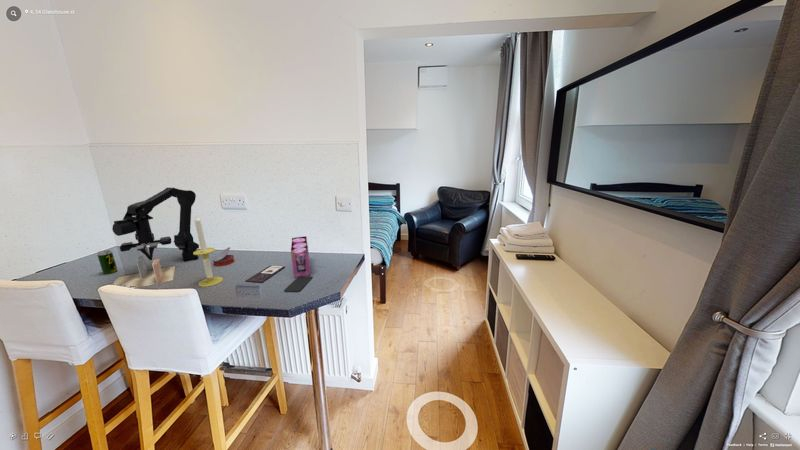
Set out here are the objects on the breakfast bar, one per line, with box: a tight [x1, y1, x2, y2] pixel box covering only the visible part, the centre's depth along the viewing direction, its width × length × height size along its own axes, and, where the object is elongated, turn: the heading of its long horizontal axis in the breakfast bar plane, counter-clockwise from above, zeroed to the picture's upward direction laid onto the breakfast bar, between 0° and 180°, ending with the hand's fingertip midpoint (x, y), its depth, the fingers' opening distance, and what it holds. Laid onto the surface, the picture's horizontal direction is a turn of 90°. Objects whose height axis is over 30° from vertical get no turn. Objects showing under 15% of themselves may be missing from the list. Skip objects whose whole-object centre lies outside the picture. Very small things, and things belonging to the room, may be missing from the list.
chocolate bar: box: [244, 265, 286, 284], centre depth 141 cm, size 9×1×18 cm
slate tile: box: [136, 255, 149, 278], centre depth 142 cm, size 2×8×9 cm, turn 34°
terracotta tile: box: [151, 258, 163, 284], centre depth 137 cm, size 2×8×9 cm, turn 34°
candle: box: [193, 214, 224, 288], centre depth 130 cm, size 10×10×32 cm
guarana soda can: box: [96, 249, 119, 276], centre depth 145 cm, size 5×5×12 cm
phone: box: [283, 275, 313, 293], centre depth 130 cm, size 7×1×15 cm
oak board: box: [112, 266, 176, 289], centre depth 139 cm, size 23×21×1 cm
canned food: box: [212, 246, 235, 267], centre depth 157 cm, size 11×10×10 cm
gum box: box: [290, 236, 311, 278], centre depth 146 cm, size 24×8×14 cm, turn 19°
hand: (151, 259), depth 143 cm, fingers closed
